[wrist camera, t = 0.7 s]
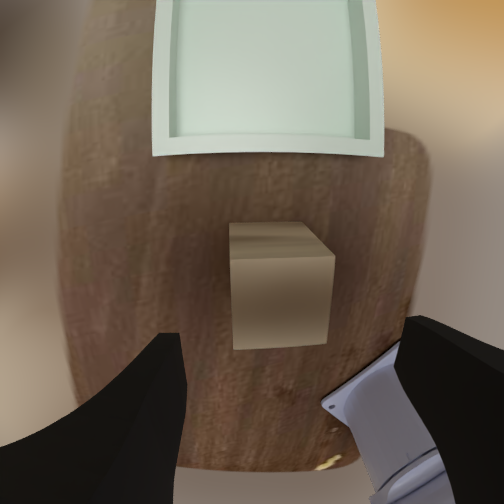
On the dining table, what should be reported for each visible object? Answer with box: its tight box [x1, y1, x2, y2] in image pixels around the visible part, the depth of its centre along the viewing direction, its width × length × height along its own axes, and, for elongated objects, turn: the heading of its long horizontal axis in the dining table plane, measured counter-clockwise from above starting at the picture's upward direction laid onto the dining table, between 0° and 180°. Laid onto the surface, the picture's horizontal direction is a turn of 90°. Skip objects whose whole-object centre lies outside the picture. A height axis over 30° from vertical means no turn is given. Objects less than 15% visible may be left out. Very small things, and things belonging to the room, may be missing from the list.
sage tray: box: [152, 0, 384, 157], centre depth 13 cm, size 11×11×2 cm
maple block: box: [229, 222, 335, 350], centre depth 15 cm, size 4×4×6 cm
